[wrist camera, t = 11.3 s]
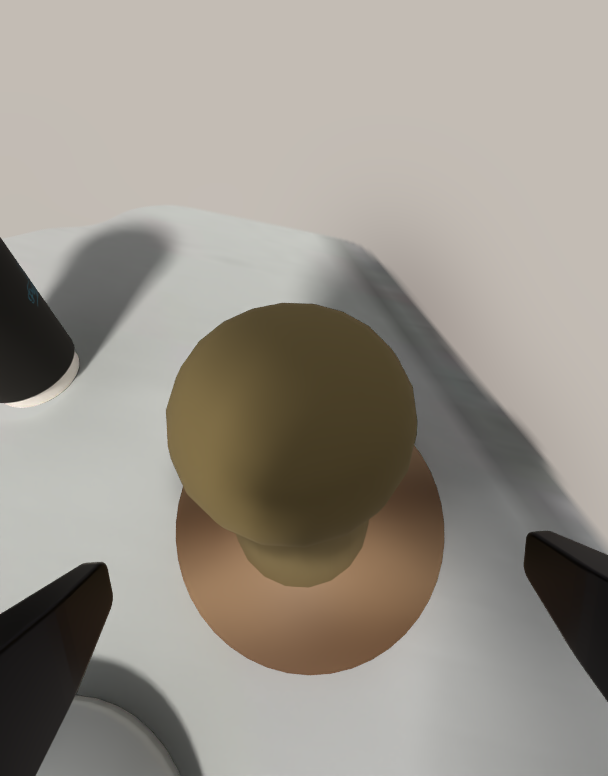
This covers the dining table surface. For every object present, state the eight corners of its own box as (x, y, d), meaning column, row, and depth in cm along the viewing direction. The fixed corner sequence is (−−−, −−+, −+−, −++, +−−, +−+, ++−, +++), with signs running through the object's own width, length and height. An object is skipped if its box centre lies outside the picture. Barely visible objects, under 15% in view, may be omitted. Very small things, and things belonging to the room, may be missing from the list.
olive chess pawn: (208, 505, 15) (53, 362, 6) (306, 424, 18) (302, 226, 8) (294, 625, 13) (257, 692, 4) (396, 515, 15) (538, 380, 6)
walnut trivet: (487, 617, 14) (499, 618, 13) (194, 716, 12) (185, 725, 12) (380, 381, 20) (383, 372, 19) (176, 428, 19) (169, 420, 18)
